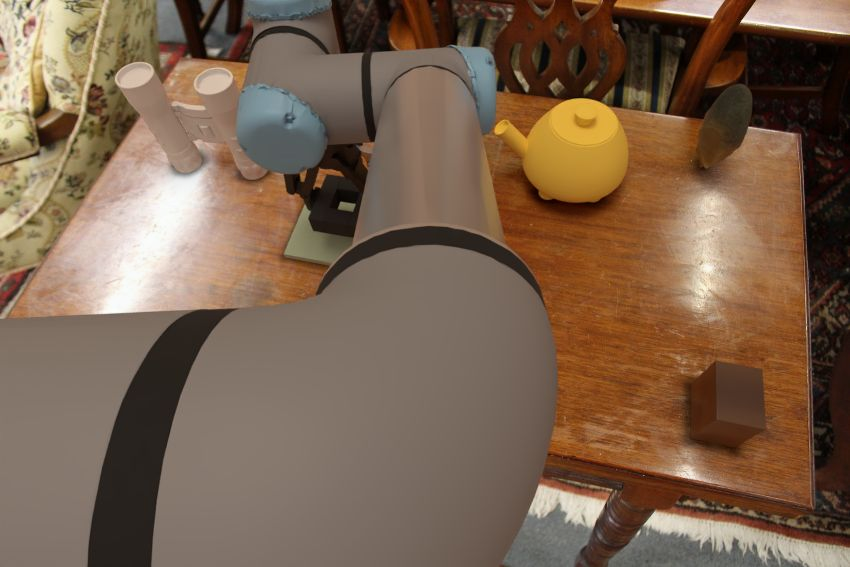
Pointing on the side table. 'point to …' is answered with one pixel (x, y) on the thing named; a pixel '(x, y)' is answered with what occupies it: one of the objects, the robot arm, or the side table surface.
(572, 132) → the teapot
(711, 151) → the decorative stone
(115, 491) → the robot arm
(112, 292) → the side table surface
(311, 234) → the base mat
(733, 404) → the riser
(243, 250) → the side table surface
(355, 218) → the dark square frame
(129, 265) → the side table surface
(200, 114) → the binoculars
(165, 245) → the side table surface
